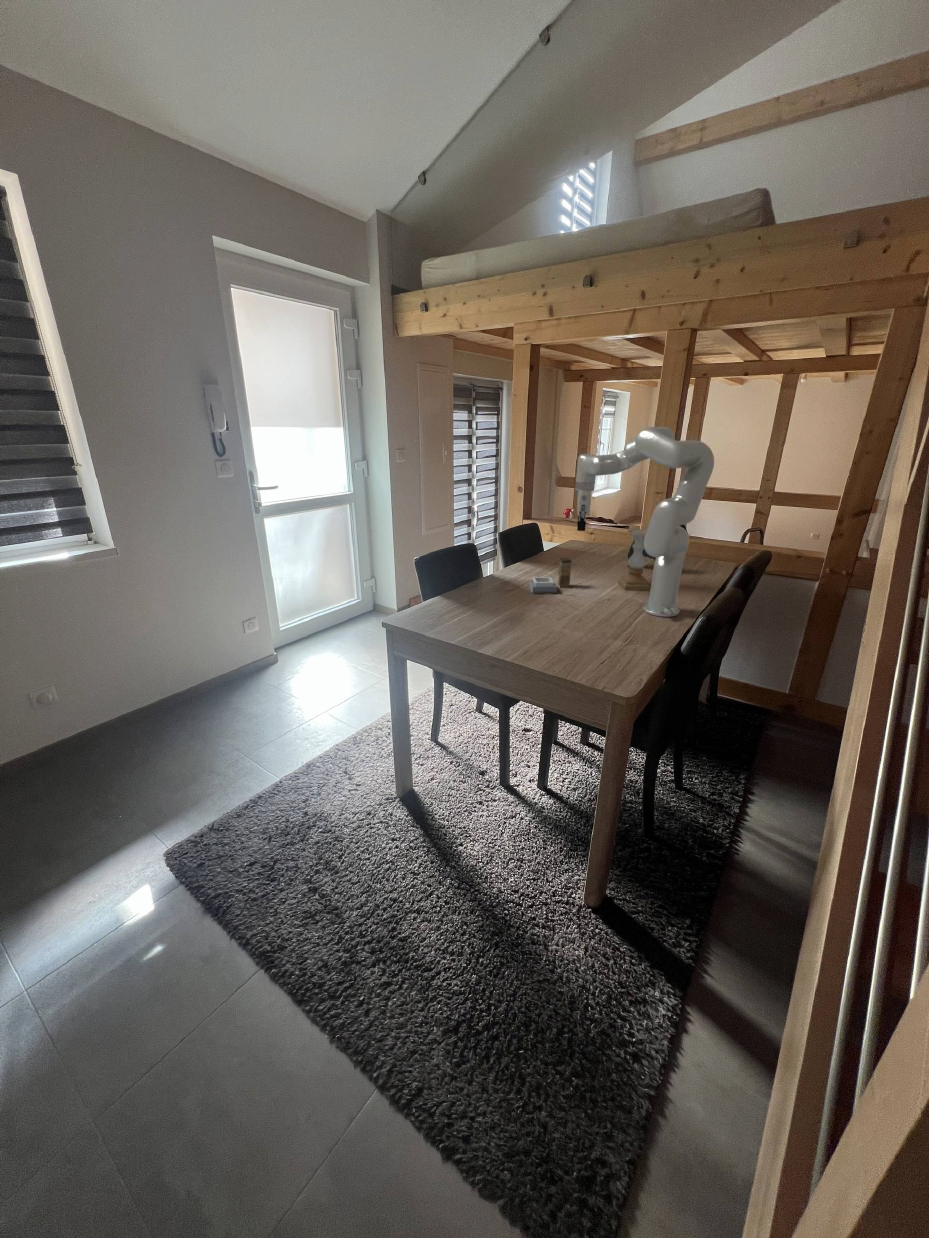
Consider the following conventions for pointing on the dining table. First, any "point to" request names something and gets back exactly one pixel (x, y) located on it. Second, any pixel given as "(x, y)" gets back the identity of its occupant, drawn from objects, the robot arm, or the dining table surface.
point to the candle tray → (542, 585)
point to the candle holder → (636, 564)
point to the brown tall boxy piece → (564, 572)
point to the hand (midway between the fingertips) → (581, 528)
